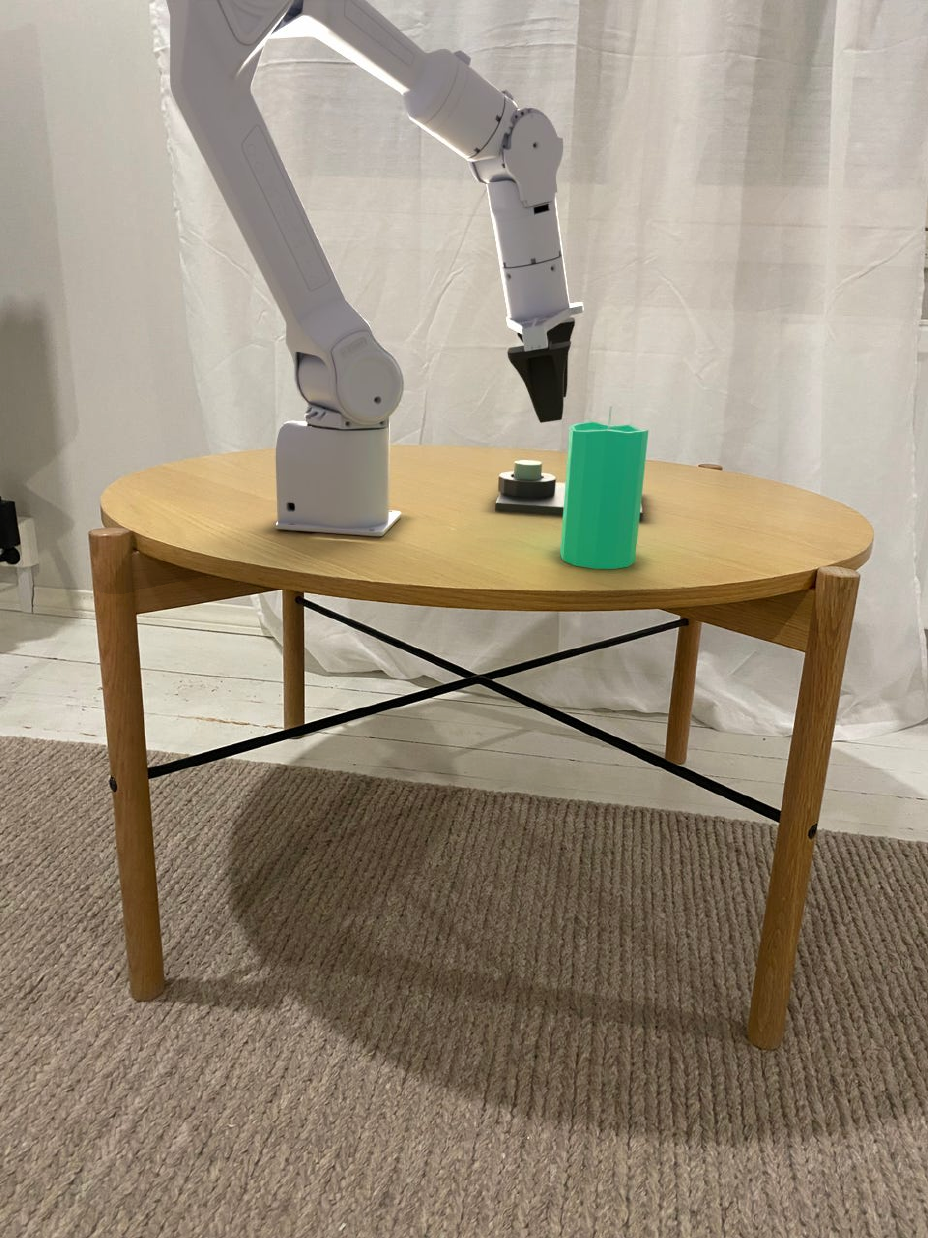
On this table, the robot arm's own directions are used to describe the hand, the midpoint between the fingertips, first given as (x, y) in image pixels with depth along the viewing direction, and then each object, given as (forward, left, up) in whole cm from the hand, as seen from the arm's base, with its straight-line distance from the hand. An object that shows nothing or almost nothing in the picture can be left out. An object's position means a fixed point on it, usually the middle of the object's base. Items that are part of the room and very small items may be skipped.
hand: (553, 408), depth 89 cm
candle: (+5, -18, -10) cm, 21 cm away
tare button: (-2, +2, -7) cm, 8 cm away
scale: (+2, +2, -9) cm, 10 cm away
